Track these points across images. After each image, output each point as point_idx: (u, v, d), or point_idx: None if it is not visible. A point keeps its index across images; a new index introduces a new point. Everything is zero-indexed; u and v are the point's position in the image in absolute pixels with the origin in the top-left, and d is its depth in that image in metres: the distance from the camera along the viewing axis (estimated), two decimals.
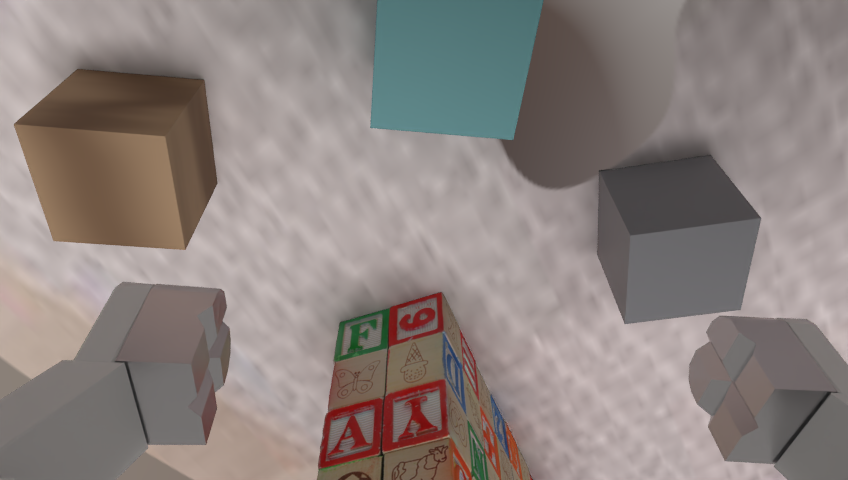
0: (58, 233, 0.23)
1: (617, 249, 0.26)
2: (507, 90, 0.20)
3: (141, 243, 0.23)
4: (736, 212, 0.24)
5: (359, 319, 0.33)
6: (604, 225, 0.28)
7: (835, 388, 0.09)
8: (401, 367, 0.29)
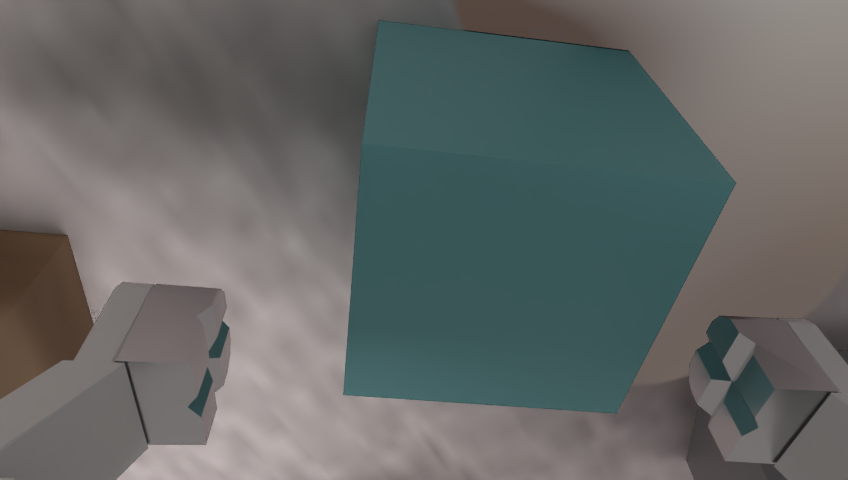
0: None
1: None
2: (619, 344, 0.10)
3: None
4: None
5: None
6: (711, 442, 0.18)
7: (835, 388, 0.09)
8: None
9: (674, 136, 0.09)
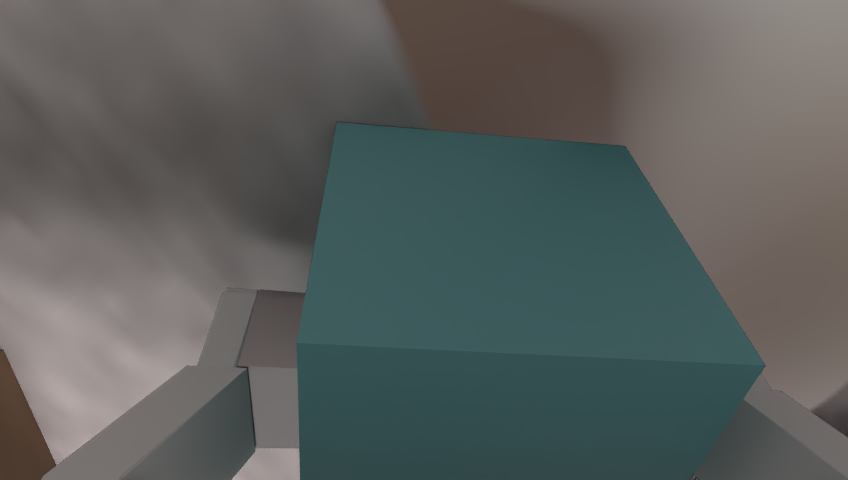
0: None
1: None
2: None
3: None
4: None
5: None
6: None
7: None
8: None
9: (684, 288, 0.07)
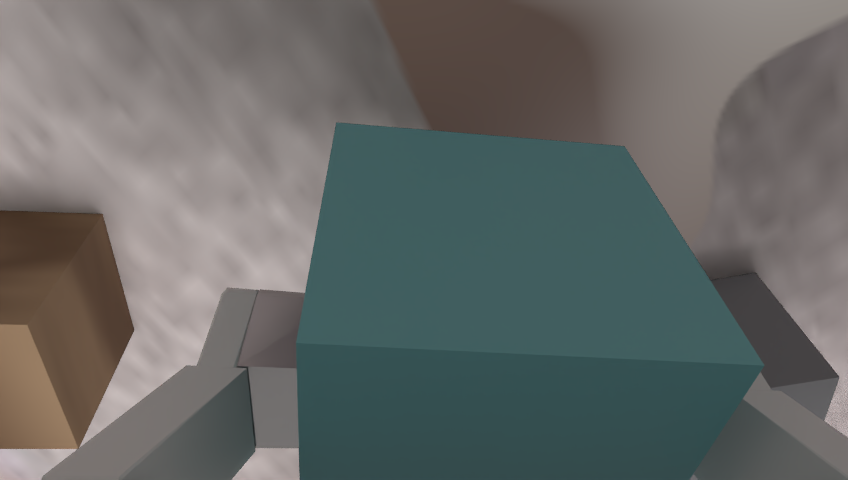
0: None
1: None
2: None
3: (17, 445, 0.17)
4: (804, 367, 0.18)
5: None
6: None
7: None
8: None
9: (684, 288, 0.07)
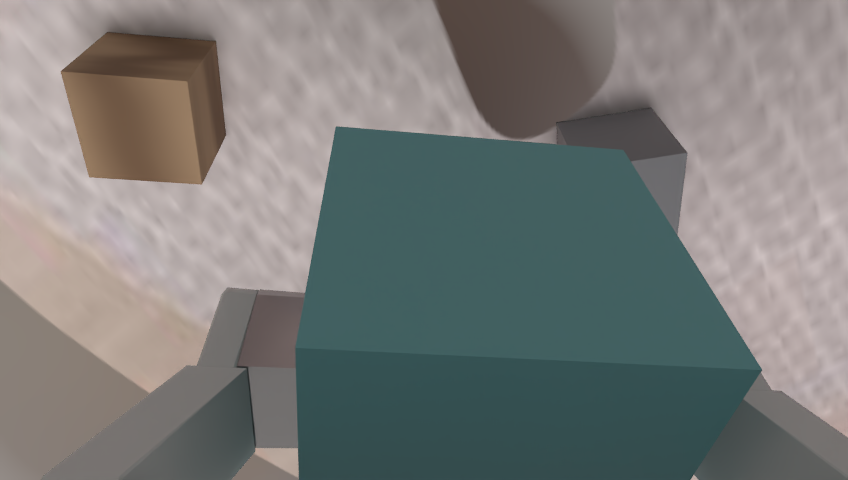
0: (93, 170, 0.27)
1: None
2: None
3: (164, 178, 0.28)
4: (667, 149, 0.28)
5: None
6: None
7: None
8: None
9: (681, 293, 0.07)
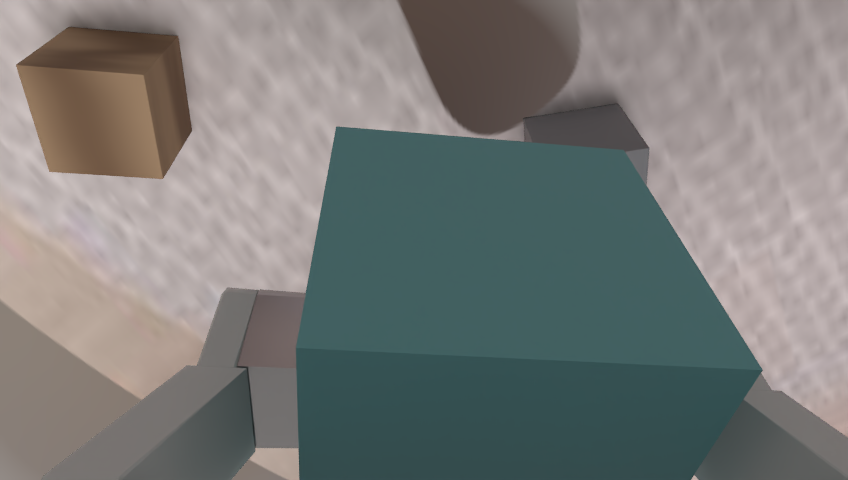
0: (53, 164, 0.27)
1: None
2: None
3: (125, 173, 0.28)
4: (630, 144, 0.28)
5: None
6: None
7: None
8: None
9: (682, 293, 0.07)
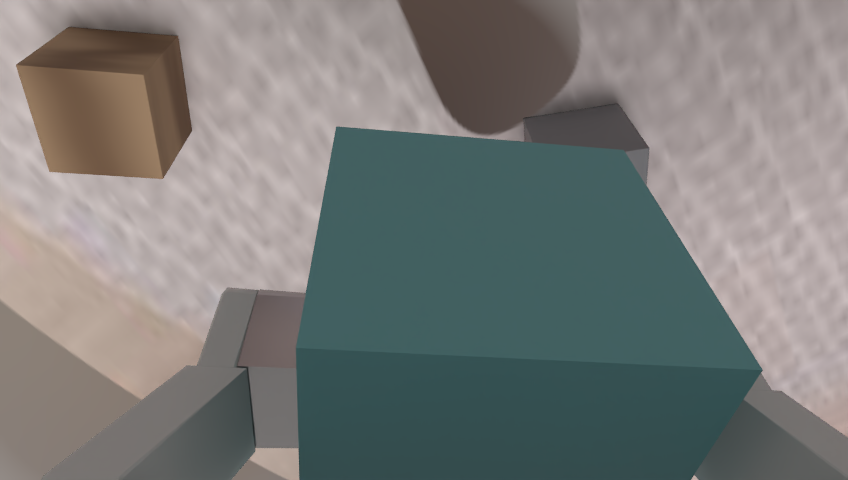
0: (53, 164, 0.27)
1: None
2: None
3: (125, 173, 0.28)
4: (630, 144, 0.28)
5: None
6: None
7: None
8: None
9: (682, 293, 0.07)
